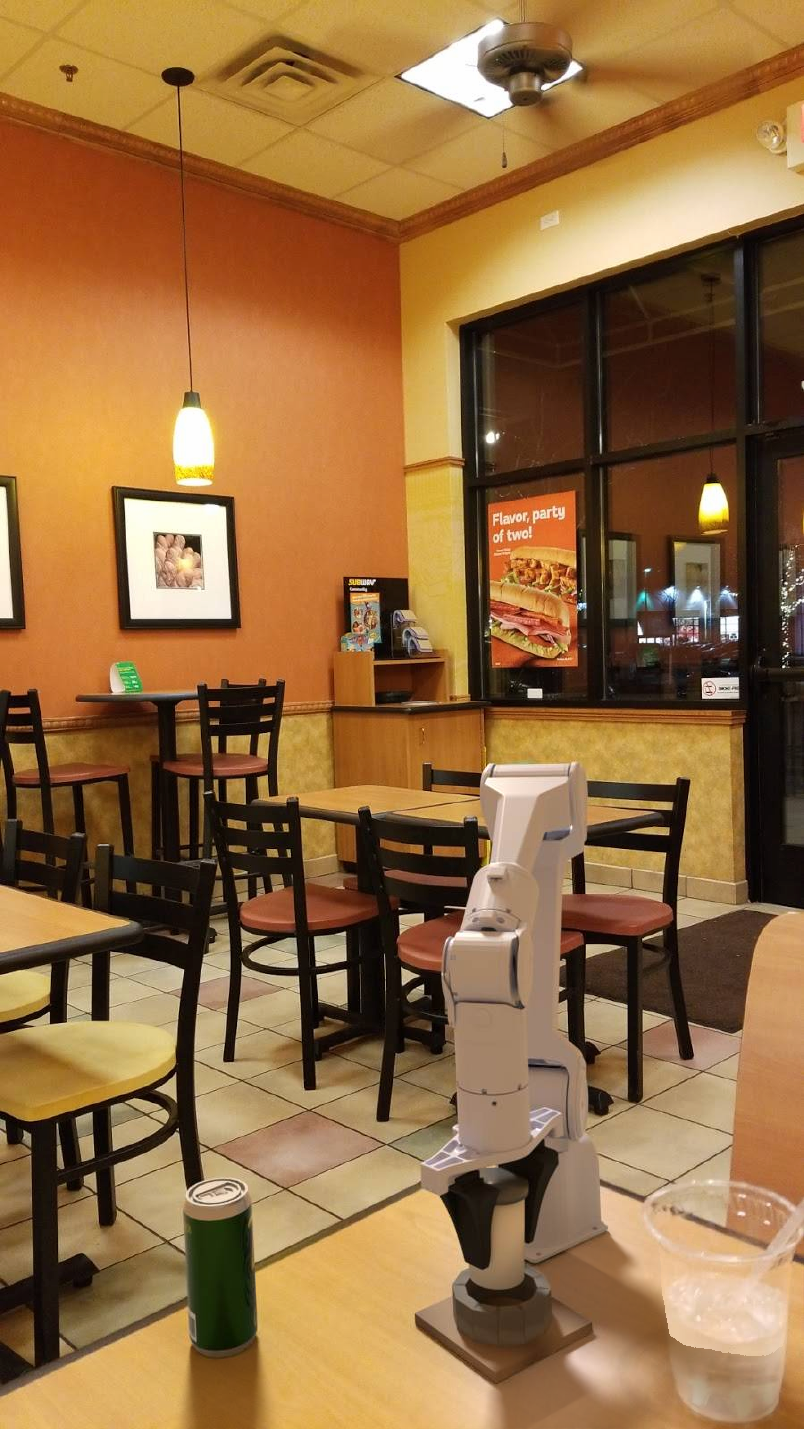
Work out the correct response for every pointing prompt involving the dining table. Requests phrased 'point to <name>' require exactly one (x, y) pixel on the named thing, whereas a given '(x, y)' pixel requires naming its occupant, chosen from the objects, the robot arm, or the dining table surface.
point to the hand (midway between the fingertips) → (499, 1251)
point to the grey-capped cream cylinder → (505, 1231)
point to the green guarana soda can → (220, 1267)
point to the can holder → (503, 1324)
